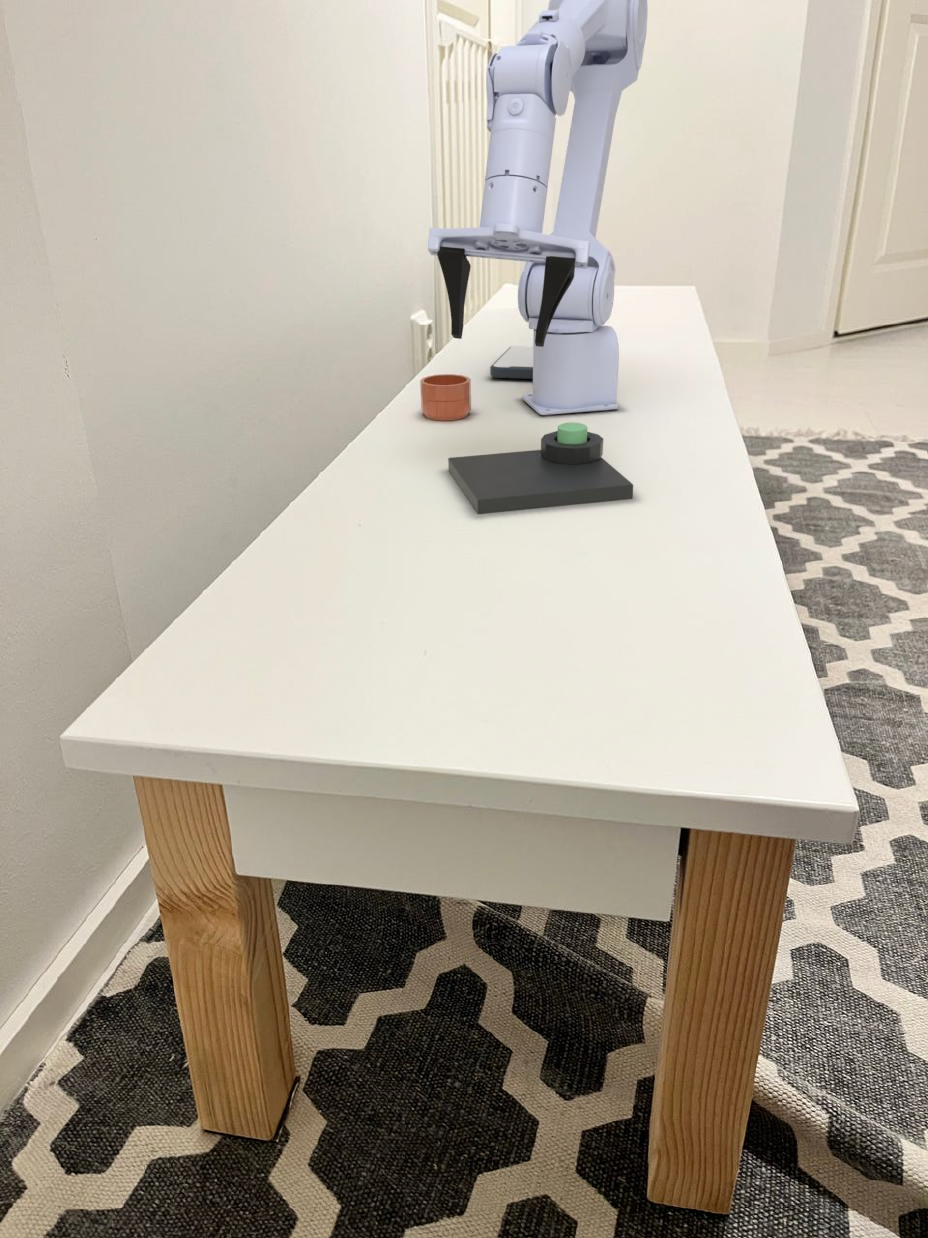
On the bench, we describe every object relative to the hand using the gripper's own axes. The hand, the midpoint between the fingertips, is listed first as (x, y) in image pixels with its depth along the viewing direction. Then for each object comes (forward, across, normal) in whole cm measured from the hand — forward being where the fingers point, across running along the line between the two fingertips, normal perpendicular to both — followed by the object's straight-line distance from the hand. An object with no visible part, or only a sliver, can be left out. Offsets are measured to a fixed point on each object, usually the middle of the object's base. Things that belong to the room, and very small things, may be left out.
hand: (497, 340), depth 89 cm
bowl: (+5, -7, +21) cm, 23 cm away
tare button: (+8, +8, +3) cm, 12 cm away
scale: (+13, +5, -1) cm, 14 cm away
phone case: (-4, 0, +44) cm, 44 cm away
